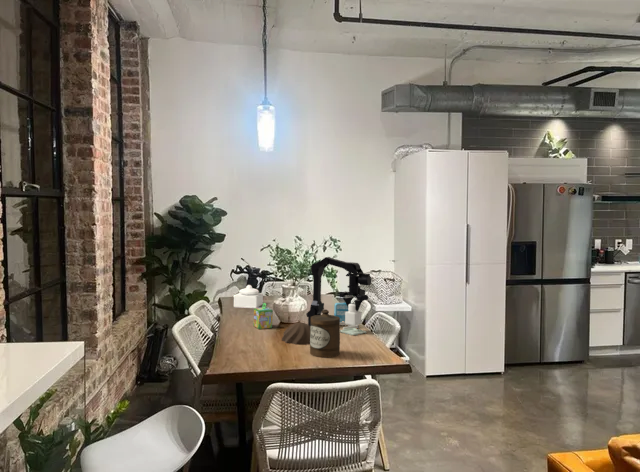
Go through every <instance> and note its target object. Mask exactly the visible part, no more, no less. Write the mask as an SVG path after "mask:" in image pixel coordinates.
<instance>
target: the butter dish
mask: <svg viewBox="0 0 640 472" xmlns="http://www.w3.org/2000/svg"><path fill="white" fill-rule="evenodd" d="M232 296H233V308H240V309H241V308H243V309H244V308H245V309H254V308H260V307H262V306H263V303H264V293H261V292H259V289H256V288H253V286H252V285H251V284H247V285H246V287H245V288H241V289H239V291H238V293H236V294H234V295H232Z"/></svg>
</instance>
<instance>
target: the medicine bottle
mask: <svg viewBox="0 0 640 472" xmlns="http://www.w3.org/2000/svg"><path fill="white" fill-rule="evenodd" d="M348 310H349V311H348V312H345V324H349V325H361V324H362V312H361V311H359V310H358V311H356V306H355V302H353V303H352V302H351V304H349V305H348Z"/></svg>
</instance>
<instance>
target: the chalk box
mask: <svg viewBox="0 0 640 472" xmlns="http://www.w3.org/2000/svg"><path fill="white" fill-rule="evenodd" d="M273 313H274V310H273V309H272V308H271V307H267V303H266V302H263V305H261V307H258V308H253V327H254V328H256V329H258V330H263V329H264V330H265V329H273Z"/></svg>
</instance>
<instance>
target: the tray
mask: <svg viewBox="0 0 640 472" xmlns="http://www.w3.org/2000/svg"><path fill="white" fill-rule="evenodd" d="M344 333H345V335H348V334H349V335H348V336H352V335H355V336H359V335H358V334H360V335H364V334H363V333H365V334H367V331H366V330H363V329H360V328H358V329H356V328H350V329H345V330H343V329H340V334H344Z"/></svg>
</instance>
